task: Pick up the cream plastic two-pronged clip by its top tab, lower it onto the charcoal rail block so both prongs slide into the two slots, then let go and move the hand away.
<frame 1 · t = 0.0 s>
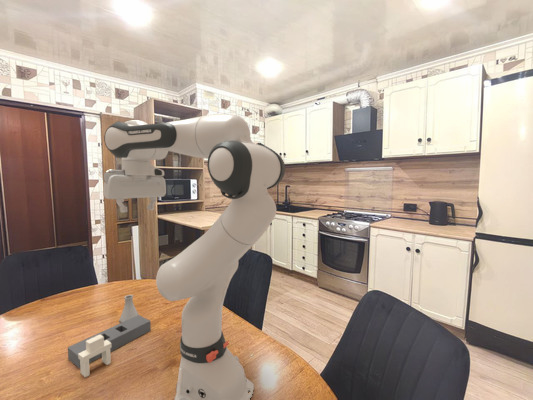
hand: (137, 211, 86), 48 cm above the table, tool pointing down, fingers open, 8 cm apart
rail: (113, 343, 90), on the table
flask: (129, 319, 106), on the table
clip: (96, 368, 78), on the table
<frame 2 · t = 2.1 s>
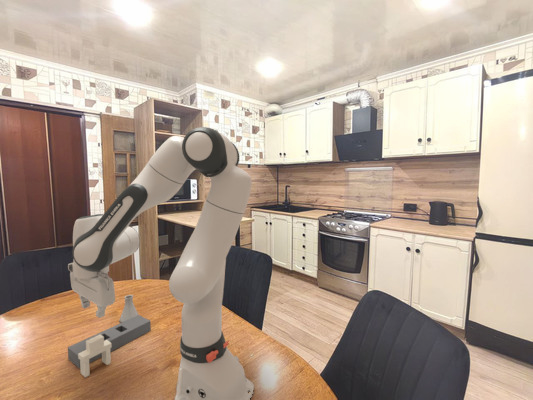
hand: (92, 311, 77), 18 cm above the table, tool pointing down, fingers open, 8 cm apart
nothing on the table moved.
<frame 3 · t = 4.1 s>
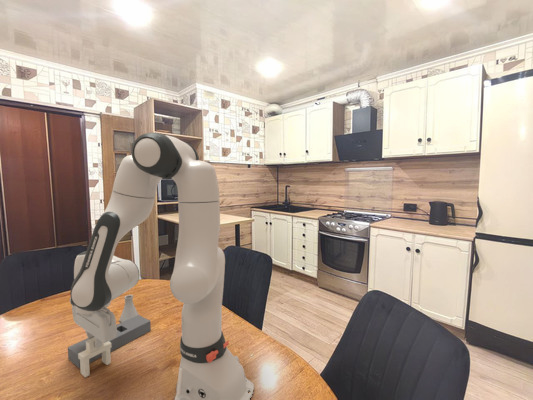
hand: (95, 344, 78), 8 cm above the table, tool pointing down, fingers closed on clip, 2 cm apart
clip: (96, 368, 78), on the table, touching gripper
everything else where it was.
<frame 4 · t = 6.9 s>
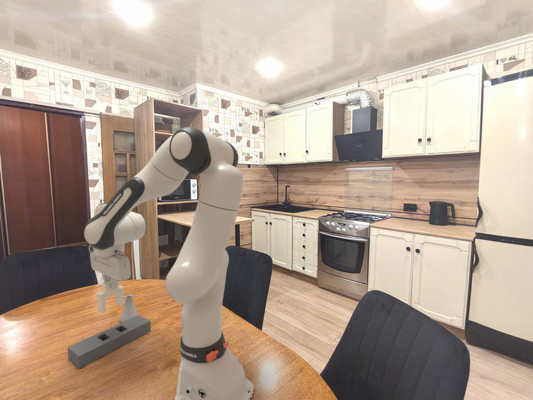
hand: (110, 286, 89), 21 cm above the table, tool pointing down, fingers closed on clip, 2 cm apart
clip: (111, 307, 89), point 13 cm above the table, touching gripper
everything else where it was.
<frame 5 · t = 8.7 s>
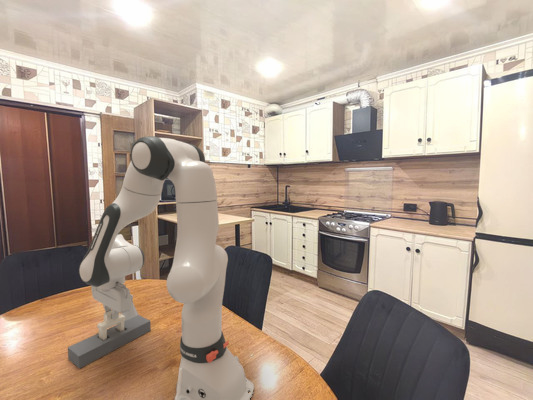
hand: (111, 317, 90), 10 cm above the table, tool pointing down, fingers closed on clip, 2 cm apart
clip: (112, 337, 90), point 2 cm above the table, touching gripper
everything else where it was.
when the fingers open (8 cm above the table, at t = 10.0 s): clip stays where it is, on the table.
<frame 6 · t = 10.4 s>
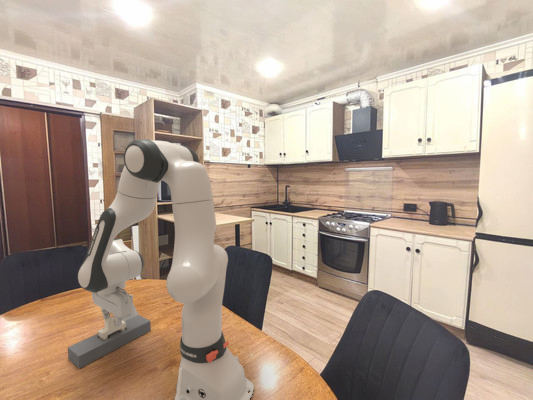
hand: (112, 321, 90), 8 cm above the table, tool pointing down, fingers open, 6 cm apart
clip: (112, 343, 90), on the table
everything else where it was.
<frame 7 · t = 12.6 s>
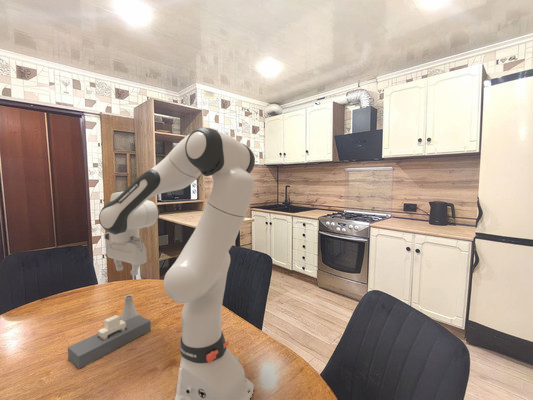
hand: (126, 272, 92), 25 cm above the table, tool pointing down, fingers open, 8 cm apart
nothing on the table moved.
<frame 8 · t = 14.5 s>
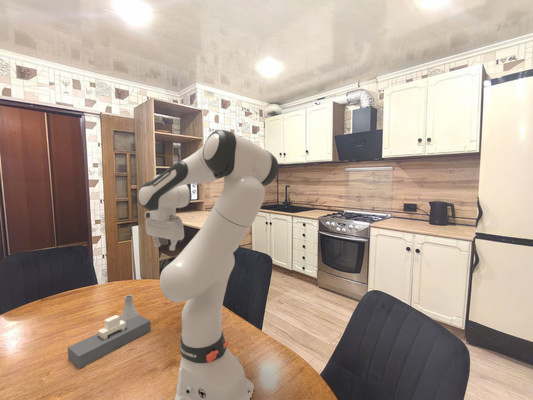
hand: (164, 248, 102), 31 cm above the table, tool pointing down, fingers open, 8 cm apart
nothing on the table moved.
at the end: clip 0.1 cm off-centre on the rail, point 0.0 cm above the rail's base; clip tilted 0°; the gripper is holding nothing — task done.
